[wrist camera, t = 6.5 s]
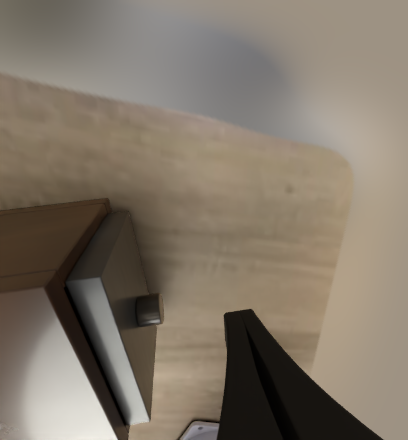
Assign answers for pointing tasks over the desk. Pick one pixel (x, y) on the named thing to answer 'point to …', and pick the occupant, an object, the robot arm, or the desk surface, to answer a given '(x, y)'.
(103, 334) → the slider
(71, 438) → the case
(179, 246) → the desk surface
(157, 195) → the desk surface
